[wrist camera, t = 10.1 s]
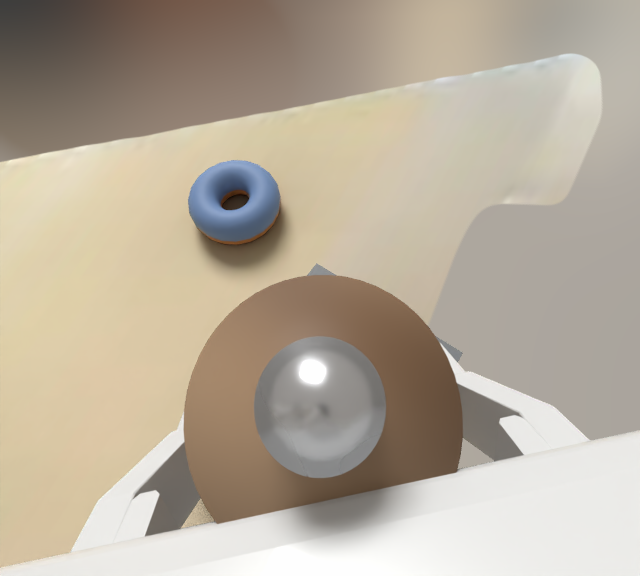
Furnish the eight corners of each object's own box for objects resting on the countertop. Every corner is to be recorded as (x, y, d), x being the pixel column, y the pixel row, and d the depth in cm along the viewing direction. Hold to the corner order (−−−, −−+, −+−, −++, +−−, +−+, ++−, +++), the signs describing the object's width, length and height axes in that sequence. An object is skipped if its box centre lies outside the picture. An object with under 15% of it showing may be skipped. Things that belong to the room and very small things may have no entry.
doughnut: (282, 248, 33) (273, 221, 29) (193, 254, 34) (171, 228, 29) (285, 180, 37) (277, 149, 33) (206, 186, 38) (189, 156, 34)
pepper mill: (342, 486, 14) (382, 754, 3) (252, 416, 15) (74, 450, 4) (398, 387, 15) (551, 355, 5) (313, 330, 16) (284, 202, 6)
